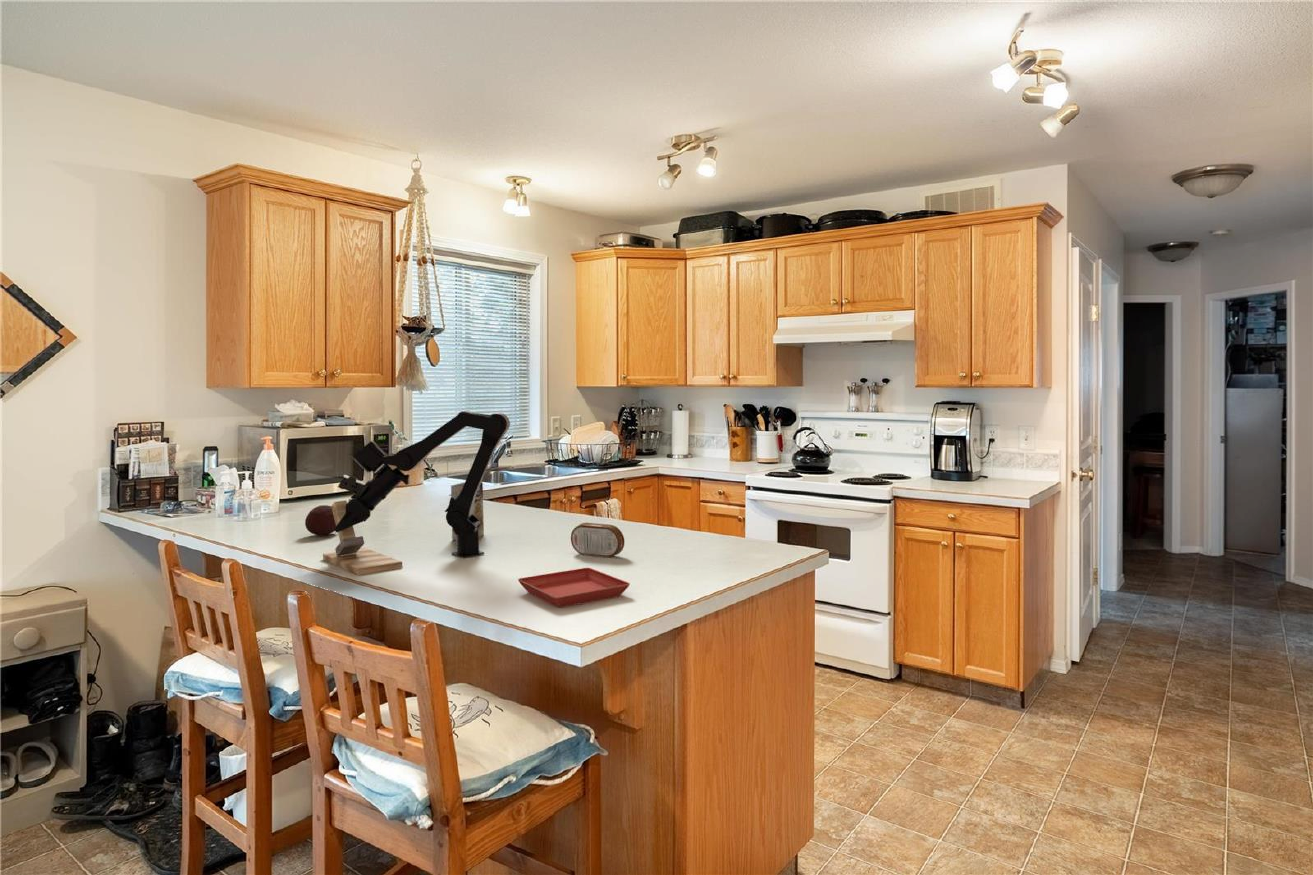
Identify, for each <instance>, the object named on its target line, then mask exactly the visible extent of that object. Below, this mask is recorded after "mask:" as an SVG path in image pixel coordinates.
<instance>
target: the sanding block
mask: <svg viewBox="0 0 1313 875" xmlns="http://www.w3.org/2000/svg"><path fill="white" fill-rule="evenodd" d="M347 503H348V501H347V500H340V501H334V502H333V504H332V505H330V506H331V507H332V511H333V515H334V519H335V523H336V526H337V524H338V523H339V522H340V520H341V519H342V517H343V516H344V515H345V513H346V508H345V506H346V504H347ZM337 534H338V539H339V544H337V546H336V547H335V548H334V552H336V555H337V556H341V555H347V554H353V553H357V551H358V550H359V549H360V548H363V546H364V545H365V540H364V536H356V532H355V529H354V525H353V526H351V527H349V528H346V529H344V530H342V531H339V532H337Z"/></svg>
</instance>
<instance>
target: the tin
mask: <svg viewBox="0 0 1313 875" xmlns="http://www.w3.org/2000/svg"><path fill="white" fill-rule="evenodd" d="M570 542H571V543H570V544H571V546H572V547H573V549H574V550H575V552H577V553H578V554H580V555H583V556H590V557H591V556H593V557H601V558H602V557H603V558H612V557H615V556H617V555H619V554H620V553H622V551H624V550H623V549H624V547H625V536H624V535H623V532H622V530H621V529H619V527H617V526H616V525H613V524H605V523H597V522H596V523H594V522H583V523H580V524H578V525H577V526H575V527H574V528H573V530H572V531H571V534H570Z"/></svg>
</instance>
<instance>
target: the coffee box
mask: <svg viewBox="0 0 1313 875" xmlns="http://www.w3.org/2000/svg"><path fill="white" fill-rule="evenodd" d="M464 484H465V482H460V483H457V484H453V485H450V492H451V494H450V495H451V496H450V498H451V497H452V496H454V495H455V494H456V495H457V496H458V495H459V494H460V493H461V491H462V488H463V486H464ZM483 484H484V482H482V481H481V484H480V486H479V489H478V491H477V493H476V496H475V504H474V509H473V513H472V514H473V515H474V516H475V517H476V518H478V519H479V520H480V521H481V523H480V526H479V528H478V529H477V530H478V534H479V538H480V537H482V536H484V534H485V524H484V492H483V491H484V488H483V486H484V485H483ZM451 540H453V541H456V534H455V532H454V530H453V527H451Z"/></svg>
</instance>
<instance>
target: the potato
mask: <svg viewBox="0 0 1313 875" xmlns="http://www.w3.org/2000/svg"><path fill="white" fill-rule="evenodd" d="M331 506H332V505H328V504H325V505H318V506H315V507H314V508H312V509H311V510H310V511H309V512H308V514H307V515H306V517H305V521H304V525H305V528H306V529H307V531H308V532H309V533H310V534H312V535H315V536H319V537H320V536H327V535H330V534H332V533H334V532H335V531H334V529H335V527H336V523H335V519H334V515H333V511H332V507H331Z"/></svg>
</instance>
